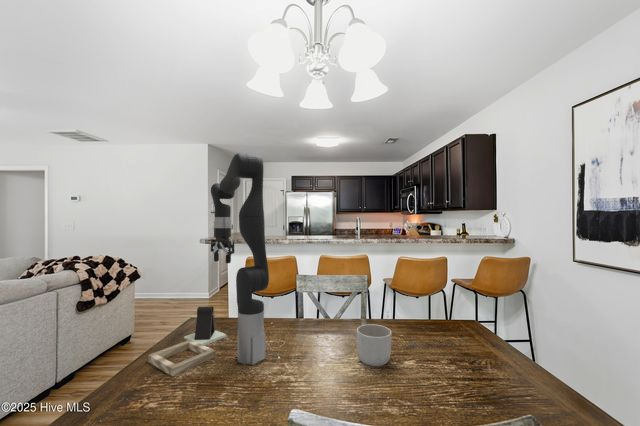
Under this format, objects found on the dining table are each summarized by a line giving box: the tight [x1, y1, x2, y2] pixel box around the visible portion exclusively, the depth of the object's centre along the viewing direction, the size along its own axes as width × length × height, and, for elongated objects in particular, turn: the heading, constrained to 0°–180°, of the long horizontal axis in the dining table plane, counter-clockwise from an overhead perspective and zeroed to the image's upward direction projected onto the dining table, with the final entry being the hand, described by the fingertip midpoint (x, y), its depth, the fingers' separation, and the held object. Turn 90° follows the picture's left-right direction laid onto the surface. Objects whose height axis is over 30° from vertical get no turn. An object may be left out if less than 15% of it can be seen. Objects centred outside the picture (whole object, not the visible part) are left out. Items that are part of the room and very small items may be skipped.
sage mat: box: [183, 329, 227, 346], centre depth 125 cm, size 12×12×1 cm
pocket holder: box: [147, 340, 216, 377], centre depth 107 cm, size 16×16×2 cm
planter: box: [356, 323, 393, 367], centre depth 107 cm, size 12×12×11 cm
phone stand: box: [194, 306, 216, 340], centre depth 125 cm, size 9×6×12 cm, turn 5°
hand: (222, 262), depth 137 cm, fingers open, 8 cm apart
